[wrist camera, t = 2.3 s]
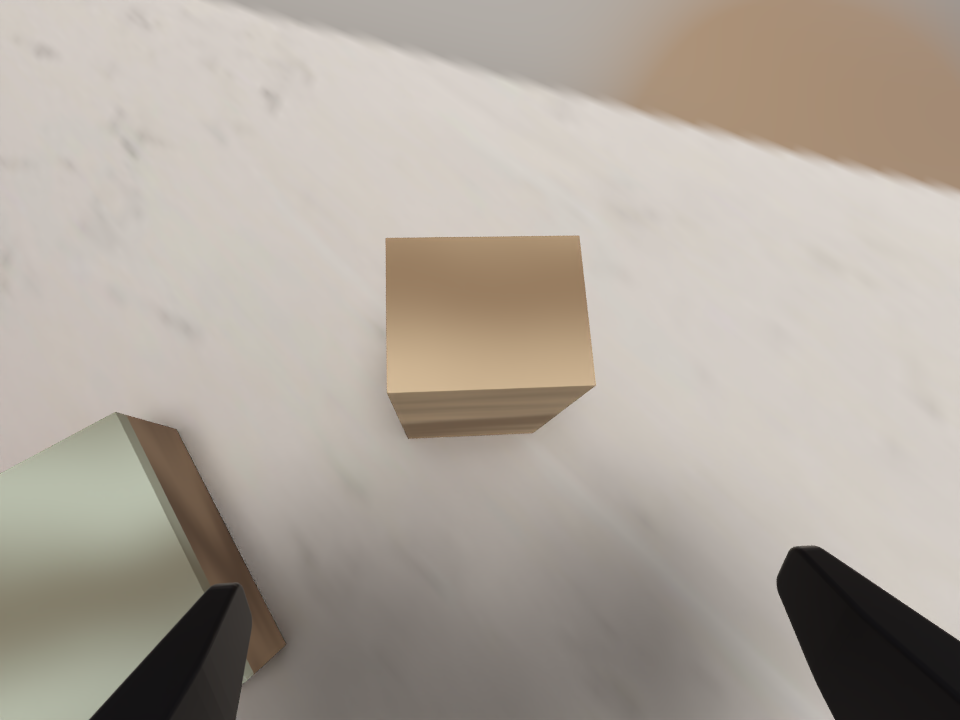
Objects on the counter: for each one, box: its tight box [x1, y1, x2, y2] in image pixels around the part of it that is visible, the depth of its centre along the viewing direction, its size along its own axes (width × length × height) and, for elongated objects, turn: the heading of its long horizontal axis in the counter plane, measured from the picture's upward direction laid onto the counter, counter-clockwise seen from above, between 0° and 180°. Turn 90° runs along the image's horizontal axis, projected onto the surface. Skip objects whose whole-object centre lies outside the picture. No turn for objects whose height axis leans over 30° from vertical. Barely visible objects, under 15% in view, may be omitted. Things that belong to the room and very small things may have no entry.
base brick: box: [0, 412, 286, 720], centre depth 17 cm, size 9×9×4 cm
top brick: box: [386, 236, 596, 439], centre depth 18 cm, size 4×5×9 cm
